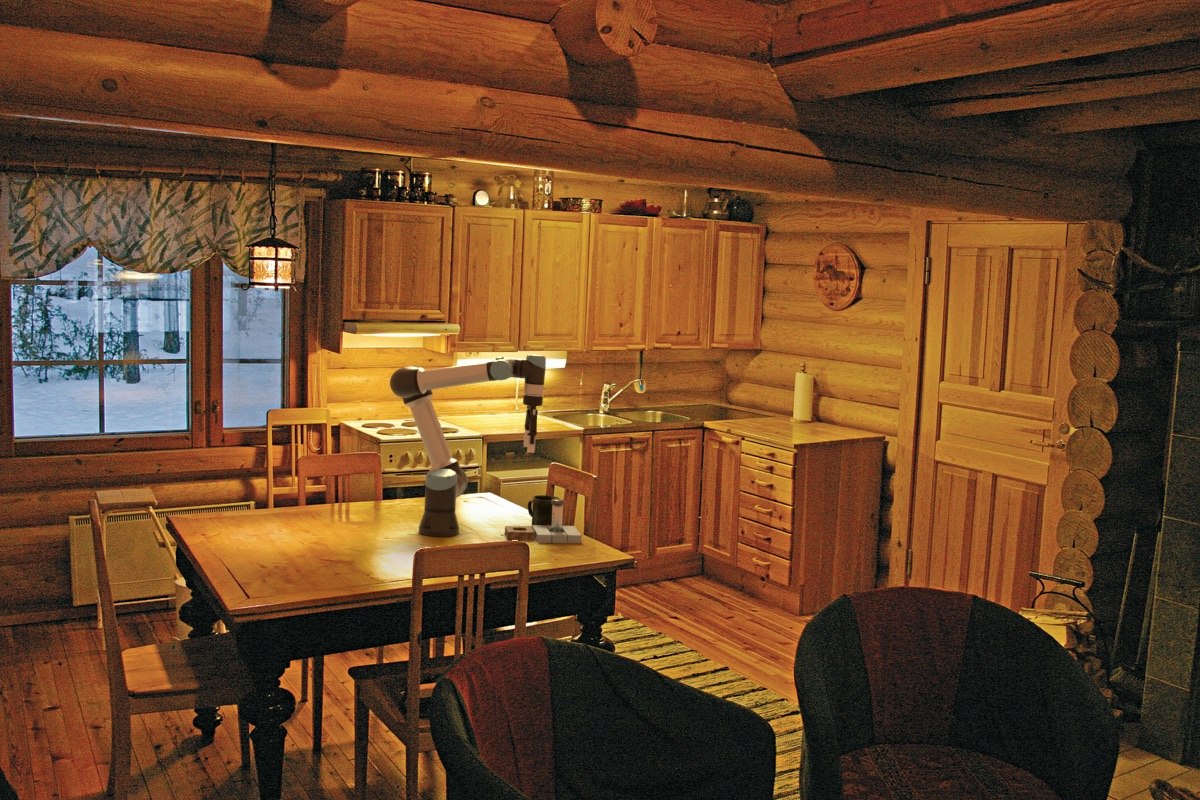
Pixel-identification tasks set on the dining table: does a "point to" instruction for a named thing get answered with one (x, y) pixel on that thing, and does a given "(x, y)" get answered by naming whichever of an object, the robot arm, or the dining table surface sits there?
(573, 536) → the socket
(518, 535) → the mount
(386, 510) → the dining table surface
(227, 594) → the dining table surface
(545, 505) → the mug
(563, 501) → the pin
